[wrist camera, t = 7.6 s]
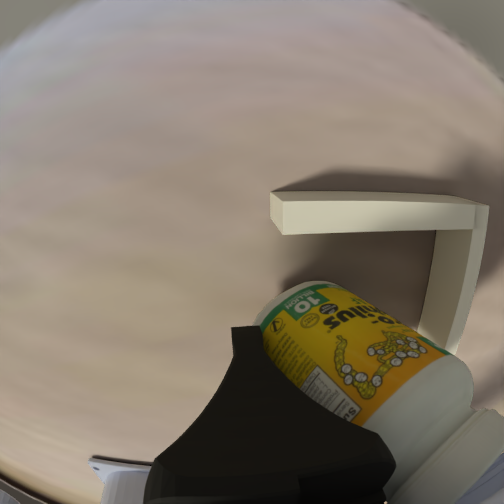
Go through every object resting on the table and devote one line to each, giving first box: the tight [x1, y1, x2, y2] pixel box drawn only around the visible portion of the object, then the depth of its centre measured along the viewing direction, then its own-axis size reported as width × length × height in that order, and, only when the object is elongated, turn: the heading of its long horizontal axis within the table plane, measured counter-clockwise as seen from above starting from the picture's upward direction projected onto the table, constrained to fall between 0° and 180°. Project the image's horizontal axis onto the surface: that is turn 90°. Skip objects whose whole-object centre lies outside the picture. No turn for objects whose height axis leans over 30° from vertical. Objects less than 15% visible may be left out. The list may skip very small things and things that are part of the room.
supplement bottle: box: [252, 281, 504, 504], centre depth 8 cm, size 5×5×10 cm
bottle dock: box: [270, 191, 489, 356], centre depth 12 cm, size 12×9×2 cm
